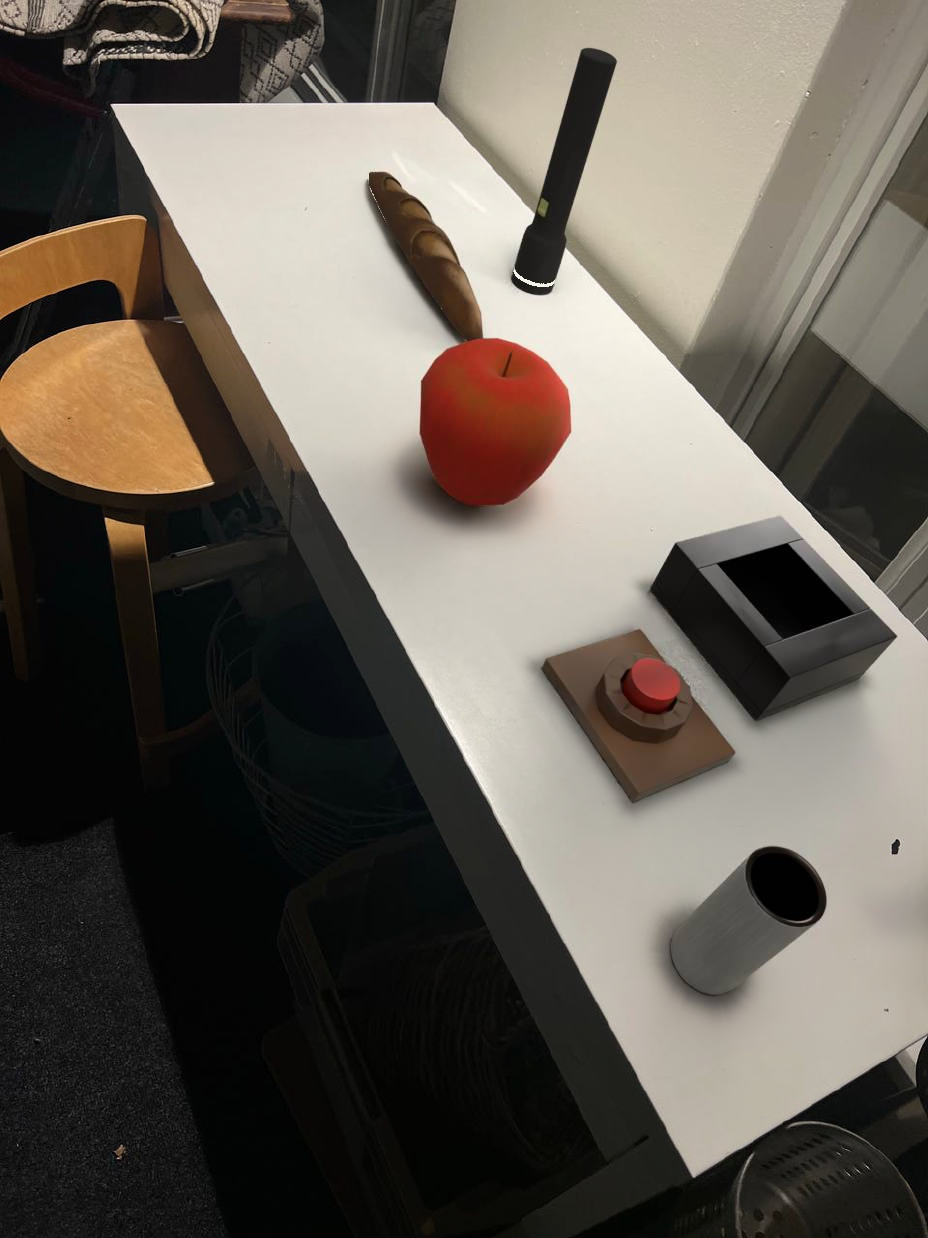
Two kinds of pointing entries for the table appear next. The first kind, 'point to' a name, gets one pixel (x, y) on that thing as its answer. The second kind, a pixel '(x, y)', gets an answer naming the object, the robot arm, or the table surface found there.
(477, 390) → the apple
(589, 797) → the table surface
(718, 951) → the dark grey hollow cylinder
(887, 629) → the open-top black bin
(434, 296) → the bread
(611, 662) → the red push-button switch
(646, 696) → the button
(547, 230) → the flashlight
